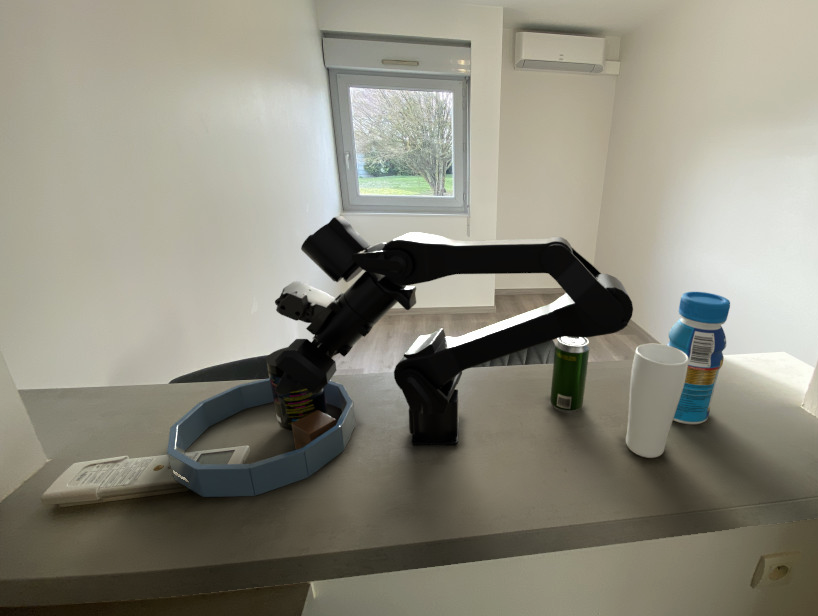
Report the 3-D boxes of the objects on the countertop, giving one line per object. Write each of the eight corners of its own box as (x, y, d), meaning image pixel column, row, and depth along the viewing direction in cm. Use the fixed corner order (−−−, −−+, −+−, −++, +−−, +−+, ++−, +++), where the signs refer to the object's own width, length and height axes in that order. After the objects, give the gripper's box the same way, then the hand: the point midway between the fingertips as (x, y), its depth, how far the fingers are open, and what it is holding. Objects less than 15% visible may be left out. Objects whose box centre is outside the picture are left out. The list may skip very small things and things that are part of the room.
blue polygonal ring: (368, 396, 68) (366, 375, 67) (324, 494, 48) (320, 467, 47) (233, 397, 67) (229, 375, 65) (130, 498, 47) (120, 470, 45)
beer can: (582, 416, 65) (590, 348, 61) (548, 412, 66) (554, 344, 62) (582, 399, 70) (590, 335, 66) (551, 395, 71) (556, 331, 67)
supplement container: (336, 419, 60) (328, 355, 56) (288, 439, 55) (276, 371, 52) (316, 401, 64) (307, 341, 61) (270, 419, 60) (258, 354, 56)
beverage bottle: (643, 407, 69) (664, 294, 62) (671, 392, 73) (693, 286, 67) (691, 433, 62) (720, 310, 55) (718, 415, 67) (748, 300, 60)
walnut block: (338, 443, 57) (336, 419, 56) (313, 459, 54) (309, 434, 52) (320, 433, 59) (317, 409, 58) (295, 448, 56) (291, 423, 54)
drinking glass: (634, 427, 63) (649, 338, 58) (677, 448, 59) (698, 354, 54) (611, 446, 59) (625, 351, 54) (655, 471, 54) (676, 370, 49)
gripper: (336, 249, 61) (272, 318, 64) (280, 284, 44) (195, 376, 47) (393, 300, 64) (329, 363, 67) (361, 351, 47) (277, 433, 50)
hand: (289, 379), depth 58 cm, fingers closed on supplement container, 7 cm apart
